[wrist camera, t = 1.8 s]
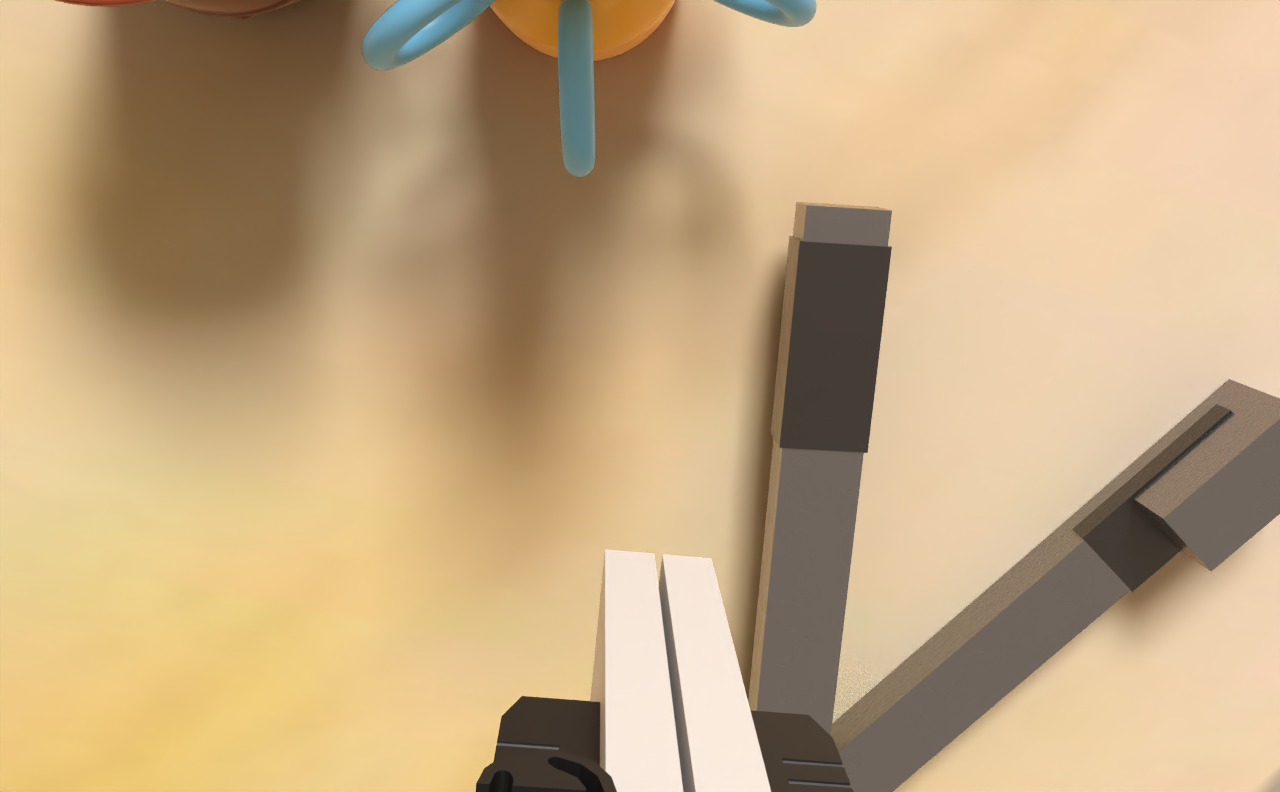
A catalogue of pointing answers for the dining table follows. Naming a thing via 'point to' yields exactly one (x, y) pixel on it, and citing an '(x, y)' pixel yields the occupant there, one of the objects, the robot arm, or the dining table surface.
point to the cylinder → (553, 43)
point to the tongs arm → (818, 452)
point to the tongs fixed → (1074, 582)
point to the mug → (203, 6)
